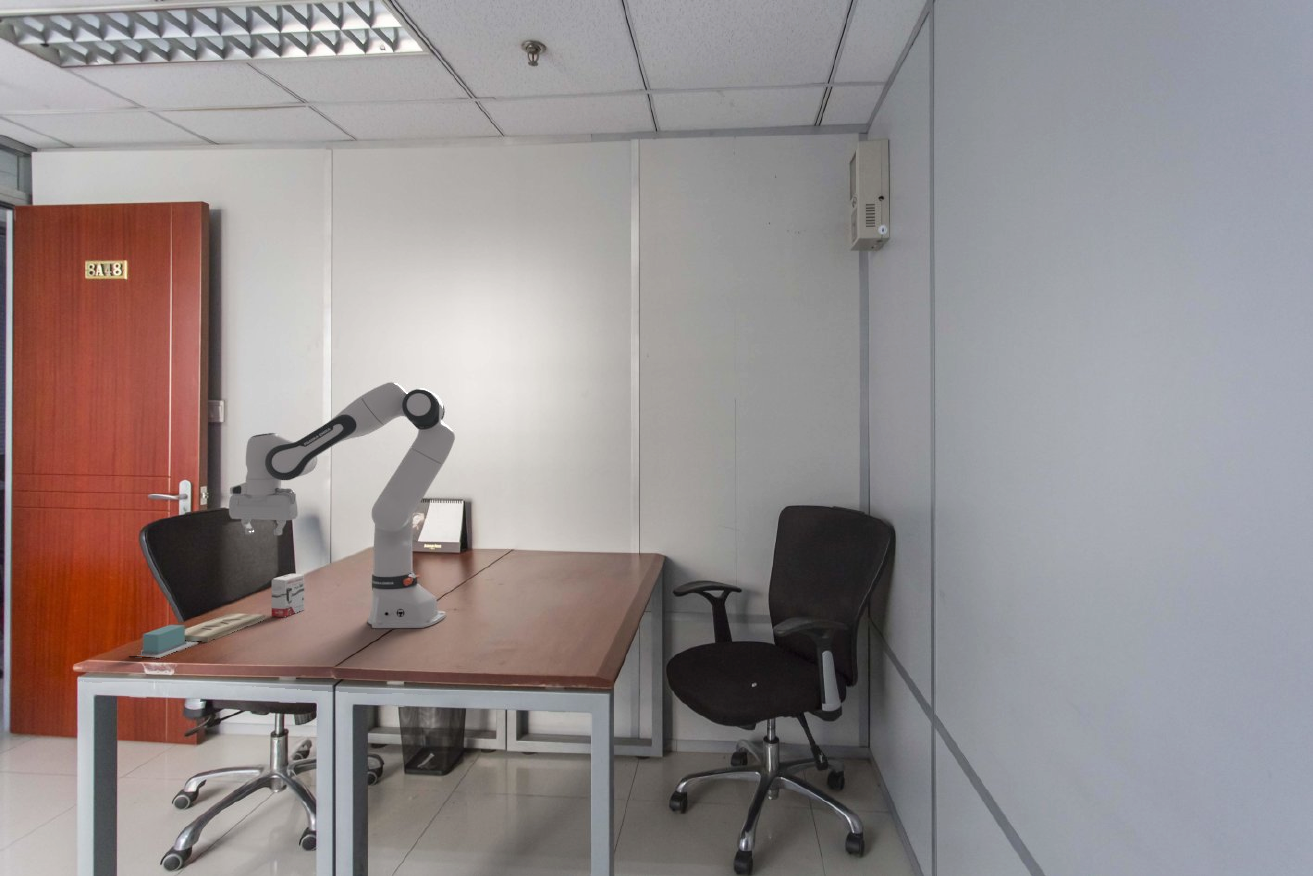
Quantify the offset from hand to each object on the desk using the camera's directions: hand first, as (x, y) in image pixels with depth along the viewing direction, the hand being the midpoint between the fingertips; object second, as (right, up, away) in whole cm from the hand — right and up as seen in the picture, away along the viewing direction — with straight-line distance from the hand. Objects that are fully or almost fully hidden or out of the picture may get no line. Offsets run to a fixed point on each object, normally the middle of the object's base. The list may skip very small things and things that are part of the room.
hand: (263, 534), depth 180 cm
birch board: (-11, -27, -3) cm, 29 cm away
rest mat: (-13, -27, -20) cm, 36 cm away
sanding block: (-13, -27, -20) cm, 36 cm away
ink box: (0, -27, +12) cm, 30 cm away
